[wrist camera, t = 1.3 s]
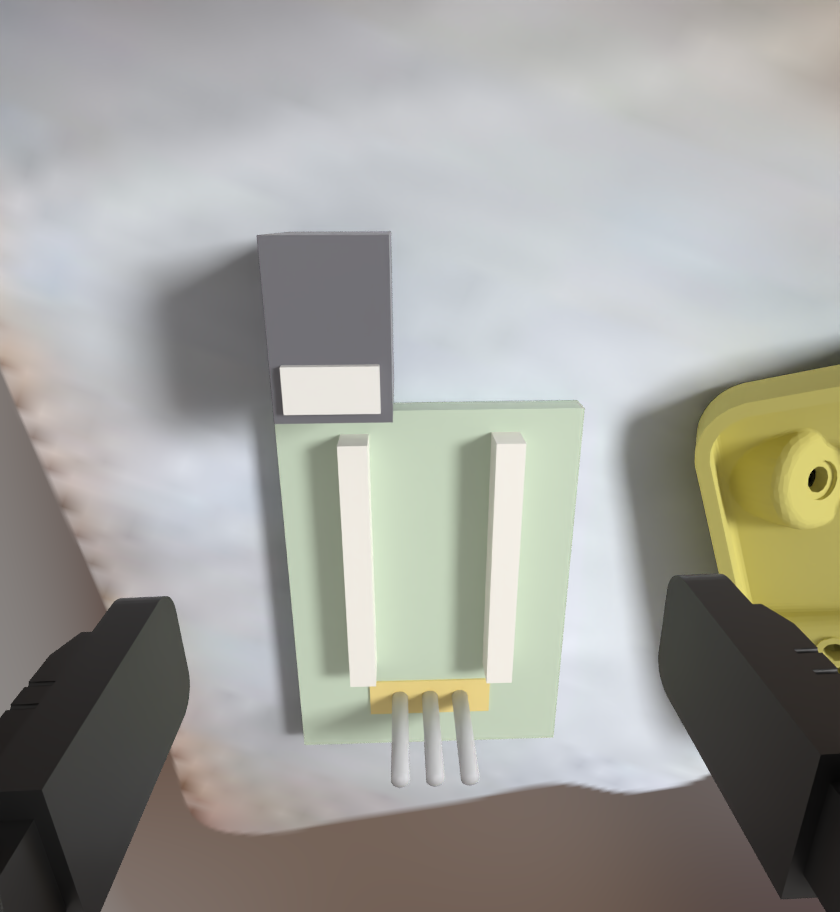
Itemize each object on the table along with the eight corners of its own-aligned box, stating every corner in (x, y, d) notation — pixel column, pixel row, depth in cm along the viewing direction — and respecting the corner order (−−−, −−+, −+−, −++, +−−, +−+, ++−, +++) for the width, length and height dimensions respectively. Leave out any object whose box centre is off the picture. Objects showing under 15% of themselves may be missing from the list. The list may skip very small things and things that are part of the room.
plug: (289, 232, 24) (254, 235, 18) (391, 231, 24) (388, 234, 18) (300, 380, 26) (272, 426, 20) (393, 379, 26) (392, 425, 21)
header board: (278, 404, 27) (245, 455, 21) (576, 400, 27) (625, 449, 21) (307, 727, 33) (288, 834, 27) (548, 720, 33) (579, 824, 28)
